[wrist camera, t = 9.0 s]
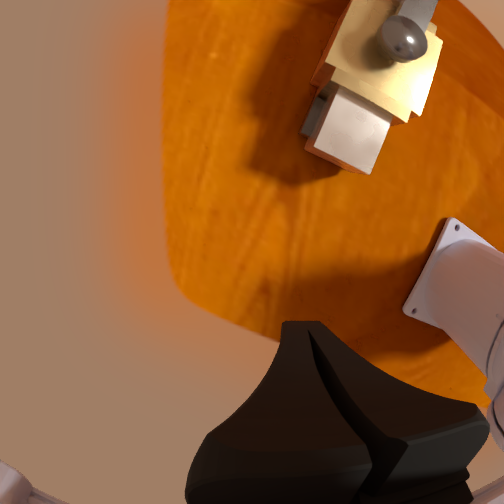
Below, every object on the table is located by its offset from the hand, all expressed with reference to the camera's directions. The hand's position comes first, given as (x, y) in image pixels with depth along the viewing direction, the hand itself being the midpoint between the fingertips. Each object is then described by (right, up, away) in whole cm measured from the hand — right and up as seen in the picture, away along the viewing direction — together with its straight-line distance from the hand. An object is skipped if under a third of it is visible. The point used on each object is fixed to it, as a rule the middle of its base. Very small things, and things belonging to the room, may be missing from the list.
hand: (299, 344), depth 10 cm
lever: (+7, +16, 0) cm, 18 cm away
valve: (+5, +15, +5) cm, 17 cm away
